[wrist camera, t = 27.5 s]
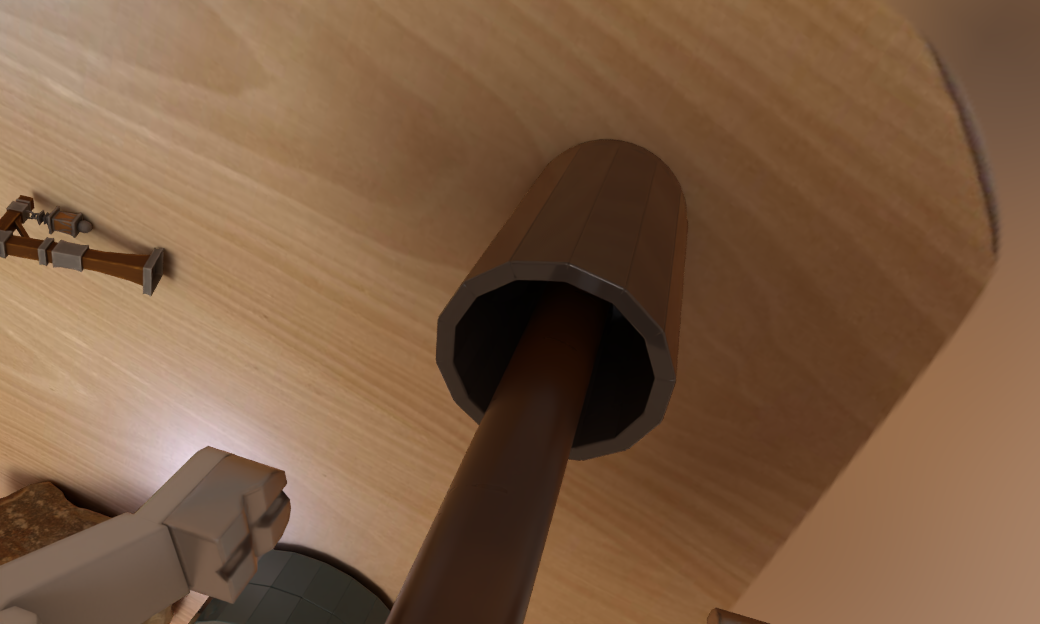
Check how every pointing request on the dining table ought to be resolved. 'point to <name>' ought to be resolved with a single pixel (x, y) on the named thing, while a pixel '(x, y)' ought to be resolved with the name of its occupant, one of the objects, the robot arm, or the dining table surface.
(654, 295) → the holder
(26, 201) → the wooden lamp post
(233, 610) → the bowl
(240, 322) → the dining table surface
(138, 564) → the robot arm
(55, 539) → the orange rock
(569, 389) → the stick
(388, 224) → the dining table surface
